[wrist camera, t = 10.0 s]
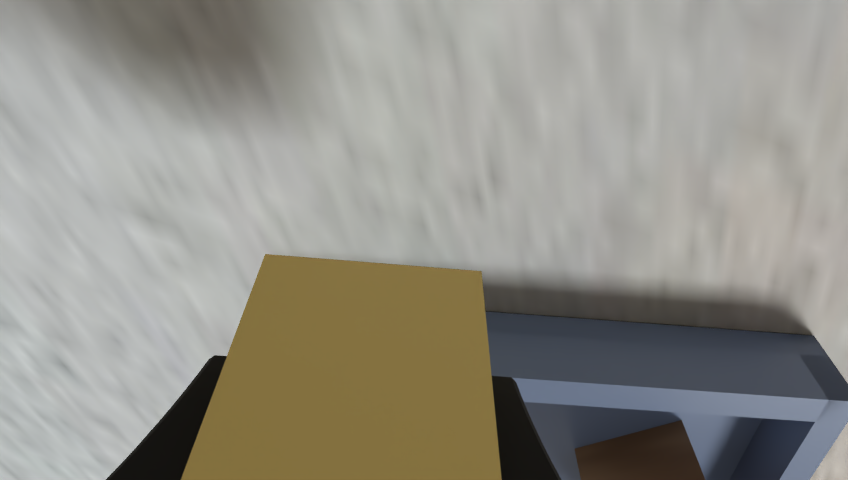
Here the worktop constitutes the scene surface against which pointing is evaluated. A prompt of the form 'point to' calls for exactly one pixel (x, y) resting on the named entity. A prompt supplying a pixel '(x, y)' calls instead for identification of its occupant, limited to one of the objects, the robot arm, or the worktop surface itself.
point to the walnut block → (641, 456)
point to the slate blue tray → (675, 390)
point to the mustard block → (354, 378)
